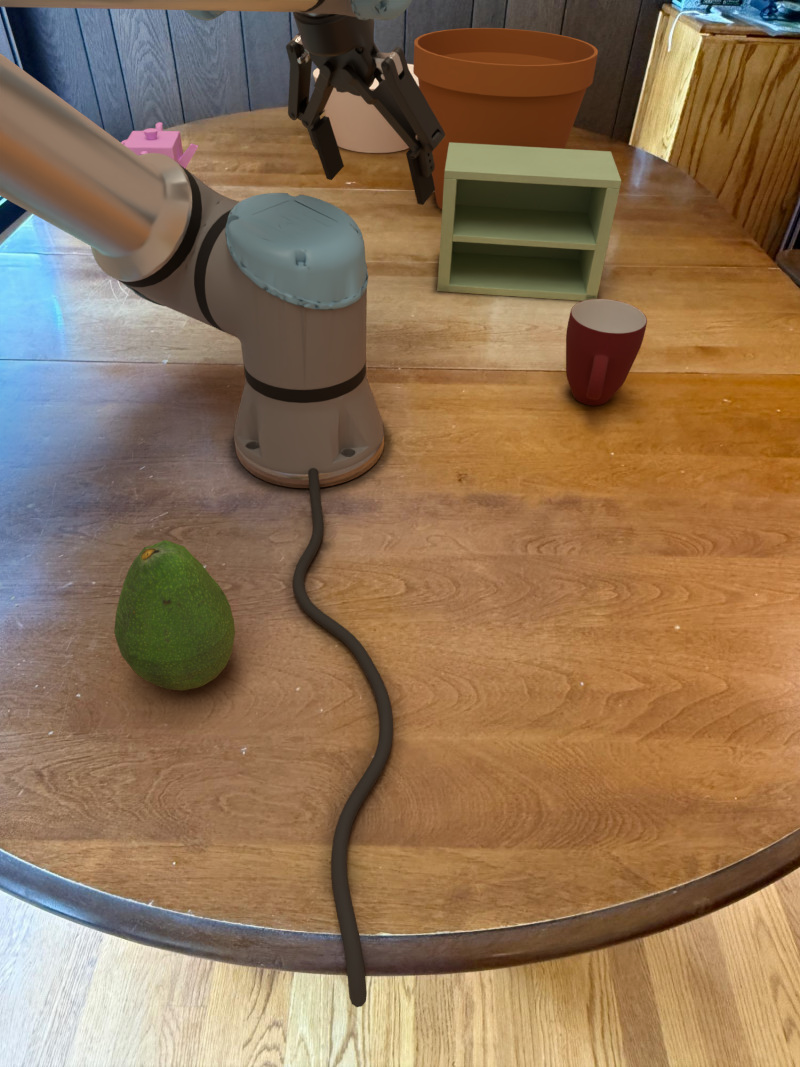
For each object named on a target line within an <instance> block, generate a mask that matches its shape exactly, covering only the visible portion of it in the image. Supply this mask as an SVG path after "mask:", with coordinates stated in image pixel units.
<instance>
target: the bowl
mask: <svg viewBox="0 0 800 1067" xmlns="http://www.w3.org/2000/svg"><path fill="white" fill-rule="evenodd" d="M407 65H408V69H409V71H410V73H411V74H412V76H413V78H414V80H415V81H416V83H417V85H418V87H419V82H418V77H416V75H415V74H414V73H413V68H414V64H412V63H407ZM319 71H320V70H319V69H318V68H317V67H316V68H315V69H314V70H313V72H312V75H313V79H314V83H316V80H317V78H318V75H319ZM378 85H379V82H378V81H377V79H376V78H375V80H374V82H373V84H372V85H371V87H370V88H369V89H370V90H372V91H373V90H375V88H376V87H377V86H378ZM324 110H325V111H324ZM324 110H323V111H324V112H323V114H324V116H326V117H329V119H330V123H331V126H332V129H333V132H334V136H335V139H336V142H337V145H338V148H341V149H344V150H347V151H352V152H358V153H365V154H387V153H396V152H400V151H404V150H409V149H410V148H409V147H408V146H407V144H406V143H405V142H404V141H403V140H402V138H401V137H400V136H399V135H398V134H397V133H396V131H395V130H394V129H393V128H392V127H391V125H390V124H389V123H388V122H387V121H386V119H385V118H384V117H383V116H382V115H381V113H380V112H379V111H378V110H377V109H376V108H375V106H374V105H369V104H367V103H366V102H365V101H364V99H363V98H362V97H361V96H356V95H353V94H351V93H349V92H343V93H342V92H337V91H336V88H333V90H332V93H331V95H330V97H329V99H328V102H327V104H326V106H325V108H324ZM417 138H418V137H417V135H416V139H417Z"/></svg>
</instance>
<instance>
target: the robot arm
mask: <svg viewBox="0 0 800 1067" xmlns="http://www.w3.org/2000/svg"><path fill="white" fill-rule="evenodd" d="M412 2H413V0H0V8H43V9H44V8H47V9H48V8H49V9H95V10H96V9H99V10H102V9H103V10H154V11H155V10H157V11H163V10H164V11H184V12H185V13H187V14H188V15H190V16H191V17H193V18H195V19H198V20H201V21H212V20H215V19H217V18H218V17H220V16H221V15H223V14H224V13H225V12H263V13H265V12H267V13H269V12H270V13H292V14H293V18H294V21H295V24H296V27H297V32H298V33H297V34H295V36H294V37H293V38H292V39H291V40H290V41H289V42H288V43H287V44H286V46H285V49H286V53H287V58H288V61H289V79H288V80H289V81H288V101H287V102H288V103H287V115H288V117H289V119H291V120H292V121H296V120H298V121H300V122H301V124H302V126H303V127H304V128H306V129H307V132H308V135H309V138H310V141H311V145H312V147H313V148H314V150H316V151H317V154H318V157H319V159H320V160H319V161H320V163H321V166H322V169H323V172H324V174H325V178H326V180H330V181H332V180H333V179H334V178H335V177H336V176H337V175H338V174H339V173H340V171H341V170H342V169H343V168H344V167H345V165H344V162H343V158H342V155H341V152H340V147H339V146H338V145H337V142H336V139H335V136H334V132H333V129H332V126H331V123H330V119H329V117H326V116H325V115H322V114H324V111H325V110H324V108H325V106H326V104H327V102H328V99H329V97H330V95H331V93H332V90H333V88H336V91H337V92H342V93H343V92H349V93H351V94H353V95H356V96H361V97H362V98H363V99H364V101H365V102H366V103H367V104H369V105H374V106H375V108H376V109H377V110H378V111H379V112H380V113H381V115H382V116H383V117H384V118H385V119H386V121H387V122H388V123H389V124H390V125H391V127H392V128H393V129H394V130H395V131H396V133H397V134H398V135H399V136H400V137H401V138H402V140H403V141H404V142H405V143H406V144H407V146H408V147H409V148H408V151H406V153H405V155H406V159H407V165H408V169H409V172H410V177H411V180H412V186H413V190H414V195H415V199H416V203H417V204H418V205H420V206H422V205H423V206H424V204H425V203H426V202H427V201H428V200H429V198H430V197H431V196H432V195H433V193H435V186H434V181H433V176H432V172H433V171H434V168H435V164H434V159H433V154H432V151H433V150H434V149H435V148H436V147H437V145H438V144H439V143H440V142H441V141H442V139H443V138H444V137H445V132H444V130H443V129H442V127H441V125H440V123H439V122H438V120H437V118H436V116H435V115H434V113H433V111H432V109H431V108H430V106H429V104H428V102H427V101H426V99H425V97H424V95H423V94H422V92H421V90H420V88H419V87H418V85H417V83H416V81H415V80H414V78H413V76H412V74H411V73H410V71H409V69H408V65H407V64H408V62H407V59H406V55H405V53H404V52H405V51H404V50H403V49H402V47H400V46H396V47H394V49H393V50H392V51H391V52H381V51H380V50H379V48H378V46H377V45H376V43H375V40H374V32H375V31H374V30H375V20H377V21H378V20H379V21H391V20H394V19H396V18H398V17H399V16H401V15H402V14H403V13H404V12H405V11H406V10H407V9H408V8H409V6H410V5H411V3H412ZM312 64H314V65H315V67H316V69H317V68H318V69H319V70H320V71H319V75H318V78H317V80H316V82H314V85H313V86H314V89H313V91H312V94H311V96H310V93H311V79H312V78H311V76H312V67H313V66H312ZM375 78H376V79H377V81H378V82H379V85H378V86H377V87H376V88H375V90H373V91H372V90H370V89H369V88H370V87H371V85H372V84H373V82H374V80H375ZM321 116H322V117H321ZM416 135H417V139H416ZM121 142H122V141H119V140H118V139H117V138H115V137H114V136H113V135H111V134H110V133H109V132H108V131H106V130H105V129H103V128H102V127H101V126H99V125H98V124H97V123H95V122H94V121H92V120H91V119H90V118H88V117H87V116H86V115H84V114H83V113H82V112H80V111H79V110H77V108H74V107H73V105H71V104H70V103H68V102H67V101H66V100H65V99H63V98H62V97H60V96H59V95H57V94H56V93H55V92H54V91H52V90H51V89H49V88H48V87H47V86H46V85H44V84H43V83H41V82H40V81H38V80H37V79H36V78H35V77H33V76H32V75H30V74H29V73H28V72H27V71H25V70H23V69H22V68H21V67H19V66H18V65H17V64H15V63H14V62H13V61H12V60H10V59H9V58H7V56H5V55H4V54H2V53H1V52H0V197H1V198H4V199H5V200H7V201H9V202H11V203H12V204H14V205H16V206H18V207H20V208H21V209H23V210H25V211H26V212H29V213H30V214H31V215H34V216H36V217H38V218H40V220H43V221H45V222H46V223H48V224H50V225H52V226H54V227H55V228H57V229H59V230H61V231H63V232H64V233H66V234H68V235H70V236H72V237H74V238H75V239H77V240H78V241H81V242H82V243H84V244H86V245H88V246H89V247H90V250H91V253H92V256H93V258H94V260H95V262H96V264H97V266H98V267H99V268H100V269H101V271H102V272H104V274H106V275H107V276H109V277H110V278H112V279H114V280H116V281H118V282H120V283H121V284H122V285H124V286H125V287H126V288H128V289H129V290H131V291H132V292H133V293H134V294H135V295H137V296H138V297H139V298H141V299H144V300H145V301H148V302H150V303H151V304H155V305H158V306H161V307H166V308H168V309H171V310H173V311H175V312H177V313H180V314H182V315H185V316H187V317H189V318H192V319H194V320H196V321H199V322H201V323H202V324H205V325H208V326H211V327H212V328H214V329H216V330H218V331H220V332H223V333H225V334H228V335H229V336H232V337H234V338H237V339H238V340H239V343H240V346H241V347H240V348H241V355H242V362H243V369H244V370H243V371H244V379H245V381H244V386H243V391H242V394H241V397H240V398H241V399H240V403H239V407H238V411H237V415H236V419H235V423H234V429H233V440H234V446H235V453H236V456H237V458H238V461H239V462H240V464H241V465H242V467H243V468H245V470H246V471H248V473H250V474H252V475H253V476H254V477H257V478H258V479H260V480H263V481H265V482H267V483H270V484H273V485H277V486H281V487H286V488H294V489H309V501H310V502H309V503H310V509H311V516H312V532H311V536H310V539H309V542H308V544H307V546H306V548H305V549H304V552H302V554H301V556H300V558H299V560H298V561H297V564H296V566H295V568H294V572H293V576H292V591H293V594H294V597H295V599H296V601H297V603H298V605H299V606H300V608H301V609H302V610H303V612H304V613H305V614H306V615H307V616H309V617H310V619H312V620H313V621H314V622H315V623H317V625H319V626H320V627H322V628H323V629H324V630H326V631H327V632H329V633H330V634H332V635H333V636H334V637H335V638H337V639H338V640H339V641H341V642H342V643H343V644H344V645H345V646H346V647H347V648H348V649H349V650H350V651H351V653H352V654H353V656H354V657H355V659H356V661H357V662H358V664H359V666H360V668H361V670H362V671H363V673H364V675H365V677H366V679H367V680H368V683H369V685H370V687H371V690H372V692H373V695H374V698H375V701H376V706H377V711H378V723H379V724H378V725H379V726H378V727H379V729H378V730H379V731H378V739H377V740H378V741H377V746H376V749H375V752H374V755H373V757H372V760H371V761H370V763H369V765H368V766H367V769H366V770H365V771H364V773H363V775H362V776H361V778H360V779H359V781H358V782H357V783H356V785H355V786H354V788H353V790H352V791H351V793H350V794H349V796H348V798H347V800H346V802H345V803H344V806H343V808H342V810H341V812H340V814H339V817H338V820H337V823H336V826H335V828H334V834H333V838H332V846H331V855H330V856H331V857H330V876H331V887H332V894H333V901H334V907H335V910H336V916H337V921H338V925H339V931H340V936H341V941H342V946H343V951H344V959H345V965H346V966H345V967H346V975H347V986H348V998H349V1000H350V1004H351V1005H353V1006H354V1007H356V1008H361V1007H363V1006H364V1005H365V1003H366V1002H367V998H368V993H367V992H368V990H367V980H366V970H365V961H364V954H363V948H362V942H361V937H360V932H359V927H358V922H357V918H356V914H355V910H354V906H353V905H354V904H353V900H352V896H351V890H350V884H349V875H348V850H349V849H348V848H349V847H348V846H349V841H350V840H349V839H350V835H351V830H352V827H353V824H354V820H355V819H356V816H357V814H358V812H359V811H360V808H361V807H362V805H363V803H364V802H365V800H366V798H367V797H368V795H369V793H370V792H371V790H372V789H373V787H374V786H375V784H376V782H377V781H378V779H379V777H380V776H381V774H382V773H383V770H384V769H385V766H386V764H387V762H388V760H389V756H390V754H391V749H392V745H393V738H394V737H393V736H394V715H393V708H392V703H391V699H390V695H389V692H388V689H387V686H386V684H385V681H384V680H383V678H382V675H381V674H380V672H379V670H378V668H377V666H376V665H375V663H374V661H373V660H372V658H371V656H370V654H369V653H368V651H367V650H366V649H365V647H364V646H363V644H362V643H361V642H360V641H359V640H358V638H356V636H355V635H353V633H351V631H349V630H348V629H347V628H345V626H343V625H342V624H340V623H339V622H338V621H336V620H335V619H333V618H332V617H331V616H329V615H327V614H326V613H325V612H323V611H322V610H321V609H320V608H318V606H316V605H315V604H314V603H313V601H312V600H311V599H310V597H309V595H308V593H307V590H306V585H305V576H306V574H307V571H308V569H309V567H310V565H311V563H312V561H313V559H314V558H315V557H316V555H317V552H318V551H319V548H320V546H321V544H322V539H323V535H324V527H325V526H324V523H325V522H324V512H323V507H322V498H321V497H322V496H321V488H327V487H332V486H336V485H340V484H343V483H346V482H349V481H351V480H354V479H356V478H358V477H360V476H362V475H364V474H365V473H366V472H367V471H369V470H370V469H371V468H372V467H374V465H375V464H376V463H377V462H378V461H379V459H380V457H381V456H382V454H383V452H384V447H385V425H384V422H383V418H382V414H381V413H380V410H379V407H378V405H377V402H376V399H375V396H374V394H373V390H372V388H371V386H370V383H369V380H368V378H367V306H368V304H367V303H368V300H367V299H368V298H367V297H368V283H369V273H368V272H369V271H368V265H367V262H366V248H365V240H364V238H363V232H362V230H361V228H360V226H359V225H358V223H357V222H356V221H355V219H353V217H352V216H351V215H350V214H348V213H347V212H346V211H344V210H343V209H341V208H340V207H338V206H336V205H335V204H332V203H331V202H328V201H326V200H323V199H321V198H318V197H314V196H310V195H305V194H298V195H290V194H289V193H288V192H266V193H261V194H255V195H251V196H249V197H246V198H244V199H242V200H241V201H239V200H236V199H232V198H230V197H228V196H225V195H223V194H221V193H219V192H217V191H215V189H213V188H212V187H210V186H209V185H208V184H206V183H204V181H202V180H201V179H200V178H198V177H197V176H196V175H194V174H193V173H192V172H190V170H188V169H187V168H186V169H185V168H184V167H182V166H181V165H180V164H179V163H177V162H176V161H175V160H173V159H172V158H170V157H168V156H166V155H163V154H159V153H146V154H142V155H139V156H138V155H137V154H135V153H134V152H133V151H131V150H130V149H129V148H127V147H126V146H125V145H123V144H122V143H121Z"/></svg>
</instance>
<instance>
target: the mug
mask: <svg viewBox="0 0 800 1067" xmlns="http://www.w3.org/2000/svg"><path fill="white" fill-rule="evenodd" d="M647 324H648V318H647V316H646V314H645V313H644V312H643V311H642V310H640V309H639V308H638V307H636V306H634V305H633V304H630V303H627V302H625V301H620V300H617V299H610V298H597V299H590V300H585V301H579V302H577V303H575V304H574V305H573V306H572V307H571V309H570V312H569V316H568V321H567V326H566V333H565V374H566V375H565V376H566V380H567V383H568V385H569V387H570V391H571V394H572V396H573V397H574V399H575V400H576V401H577V402H579V403H580V404H583V405H586V406H595V407H596V406H602V405H604V404H606V403H608V402H609V400H610V399H612V398H613V396H615V395H616V393H618V391H619V390H620V389H621V388H622V386H623V385H624V383H625V382H626V379H627V377H628V376H629V373H630V371H631V370H632V367H633V365H634V362H635V361H636V358H637V356H638V354H639V352H640V349H641V347H642V345H643V341H644V339H645V338H644V337H645V333H646V328H647Z"/></svg>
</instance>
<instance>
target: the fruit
mask: <svg viewBox="0 0 800 1067" xmlns="http://www.w3.org/2000/svg"><path fill="white" fill-rule="evenodd" d="M115 612H116V613H115V619H114V620H115V621H114V628H113V629H114V636H115V640H116V645H117V647H118V649H119V652H120V654H121V657H122V658H123V659H124V660H125V662H126V663H127V664H128V666H129V667H130V668H131V669H132V670H133V671H134V673H136V675H137V676H138V677H140V678H142V679H143V680H145V681H146V682H147V683H148V682H149V683H150V684H153V685H155V686H158V687H160V688H163V689H166V690H174V691H187V690H192V689H193V690H194V689H197V688H200V687H203V686H205V685H206V684H208V683H210V682H212V681H213V680H215V679H216V678H217V677H219V675H220V674H221V673H222V671H224V669H225V668H226V667H227V665H228V663H229V661H230V659H231V656H232V653H233V650H234V649H233V648H234V643H235V634H236V627H235V626H236V625H235V620H234V615H233V612H232V607H231V604H230V601H229V600H228V598H227V595H226V594H225V592H224V591H223V589H222V587H221V586H220V585H219V583H218V582H217V581H216V579H214V578H213V576H212V575H211V574H210V573H209V572H208V571H207V569H206V568H205V567H204V565H203V564H202V563H201V562H200V561H199V559H197V558H196V557H195V556H194V555H193V554H192V553H191V552H190V551H189V549H187V548H186V546H184V545H181V544H178V543H177V542H176V543H175V542H173V541H170V540H167V539H164V540H161V541H159V542H157V543H154V544H151V545H147V546H144V547H143V548H142V550H140V552H139V554H138V555H136V557H135V558H134V560H133V562H132V564H131V565H130V567H129V569H128V570H127V573H126V575H125V579H124V581H123V585H122V587H121V591H120V594H119V599H118V602H117V607H116V611H115Z"/></svg>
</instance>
